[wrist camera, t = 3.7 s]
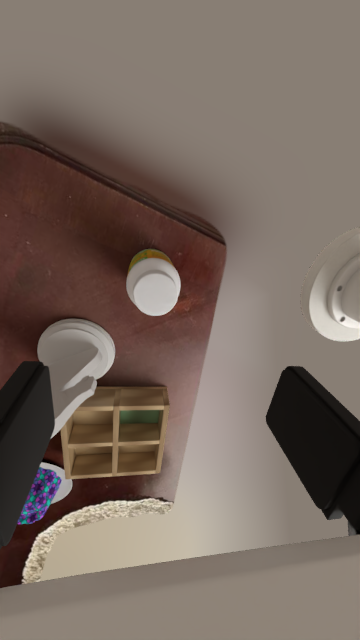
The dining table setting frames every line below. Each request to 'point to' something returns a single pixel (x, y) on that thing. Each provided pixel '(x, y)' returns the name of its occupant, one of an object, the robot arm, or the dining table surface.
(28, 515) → the pudding
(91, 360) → the chess piece
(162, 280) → the supplement bottle
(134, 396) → the grid
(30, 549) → the dining table surface
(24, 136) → the dining table surface
